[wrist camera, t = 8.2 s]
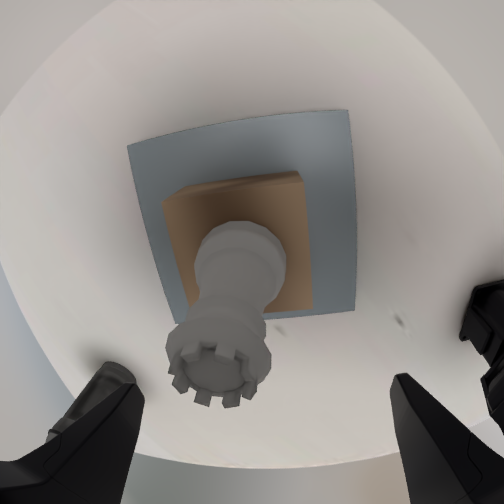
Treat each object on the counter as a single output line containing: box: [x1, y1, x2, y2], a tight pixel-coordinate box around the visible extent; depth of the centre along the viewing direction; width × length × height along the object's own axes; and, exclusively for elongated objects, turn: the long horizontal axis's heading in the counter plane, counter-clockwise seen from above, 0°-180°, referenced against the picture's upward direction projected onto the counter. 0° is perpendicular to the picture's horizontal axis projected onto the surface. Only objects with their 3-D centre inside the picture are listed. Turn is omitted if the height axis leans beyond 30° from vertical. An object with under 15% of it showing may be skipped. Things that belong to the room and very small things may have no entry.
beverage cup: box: [46, 362, 136, 443], centre depth 19 cm, size 7×7×20 cm
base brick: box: [161, 171, 313, 313], centre depth 16 cm, size 7×7×4 cm
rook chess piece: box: [165, 221, 286, 408], centre depth 11 cm, size 4×4×8 cm
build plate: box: [127, 110, 357, 324], centre depth 19 cm, size 14×14×2 cm
